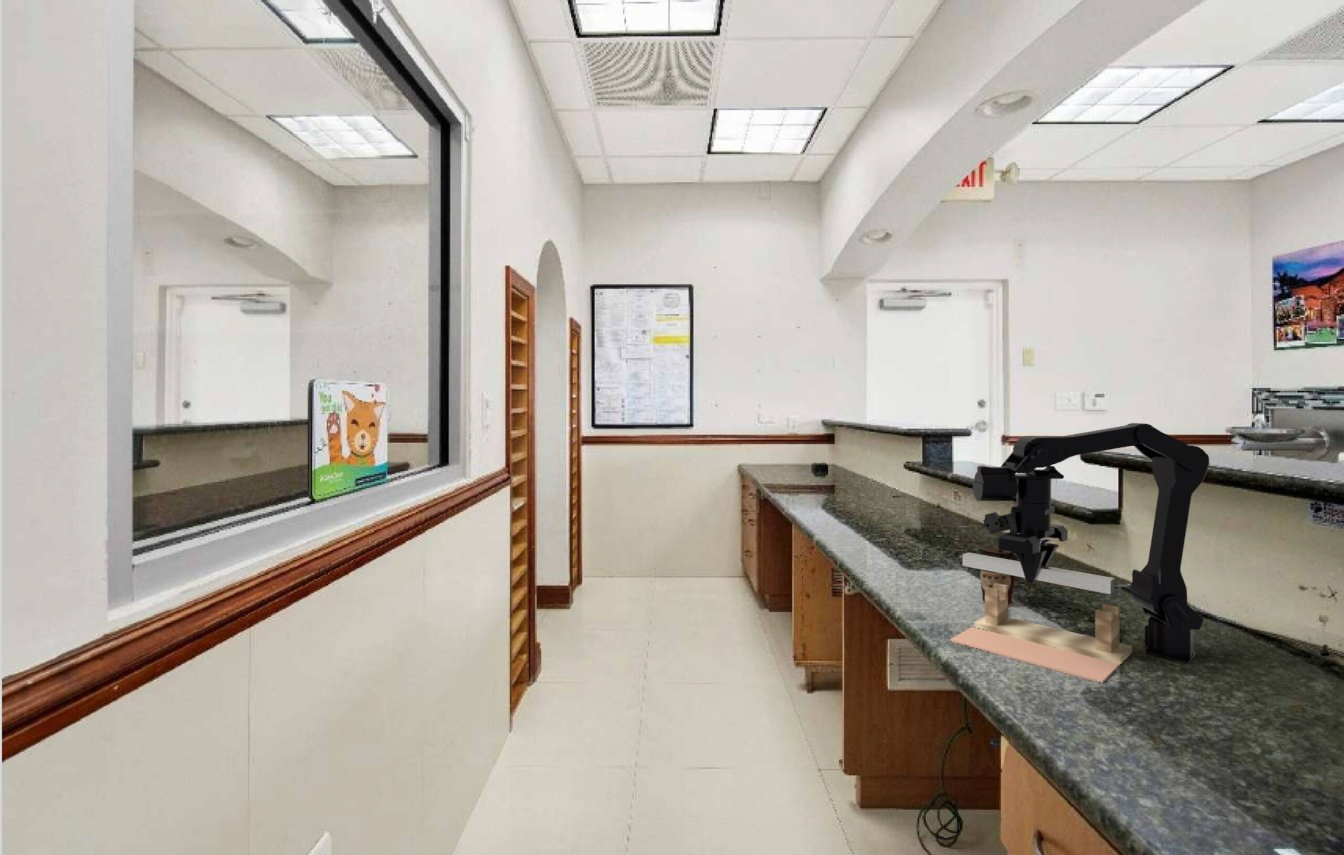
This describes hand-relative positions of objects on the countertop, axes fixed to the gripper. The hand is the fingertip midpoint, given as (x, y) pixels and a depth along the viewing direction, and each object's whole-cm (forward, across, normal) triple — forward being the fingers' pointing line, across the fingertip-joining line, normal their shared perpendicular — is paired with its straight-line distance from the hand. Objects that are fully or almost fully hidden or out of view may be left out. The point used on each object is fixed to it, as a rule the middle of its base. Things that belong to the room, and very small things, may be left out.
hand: (1032, 581), depth 119 cm
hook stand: (+13, -8, 0) cm, 15 cm away
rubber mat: (+13, +2, 0) cm, 14 cm away
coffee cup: (+14, -23, -16) cm, 31 cm away
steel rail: (-1, 0, 0) cm, 1 cm away
